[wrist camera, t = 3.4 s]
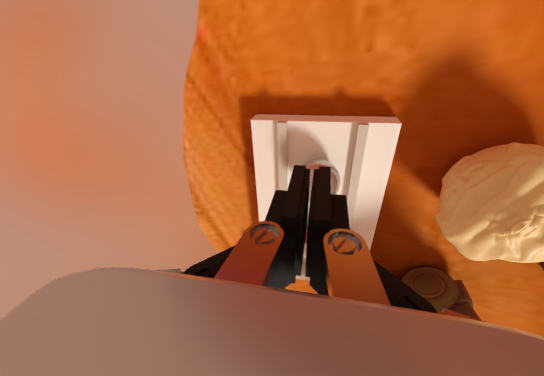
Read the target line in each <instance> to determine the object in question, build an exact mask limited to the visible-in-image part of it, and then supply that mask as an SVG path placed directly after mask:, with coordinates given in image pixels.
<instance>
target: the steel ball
mask: <svg viewBox="0 0 544 376" xmlns="http://www.w3.org/2000/svg"><path fill="white" fill-rule="evenodd" d="M303 165H305V166H306V169H310V186H309V202H310V198H311V189H312V181H313V172H314V169H319V166H324V167H331V194H336V193H337V192H338V189H339V187H340V176H339V173H338V170H337V169H336V167H335V166H334V165H333V164H332V163H330V162H328V161H326V160H323V159H312V160H309V161H307V162H305V163H304V164H303Z"/></svg>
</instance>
